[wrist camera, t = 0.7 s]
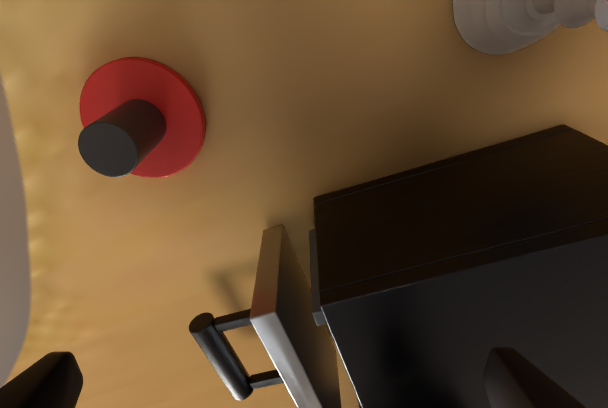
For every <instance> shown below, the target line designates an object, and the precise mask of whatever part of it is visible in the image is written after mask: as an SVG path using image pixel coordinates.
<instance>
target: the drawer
mask: <svg viewBox="0 0 608 408" xmlns="http://www.w3.org/2000/svg"><path fill="white" fill-rule="evenodd" d="M309 239H310V240H309V241H310V271H311V291H310V288H309V286H308V284H307V281H306V279H305V276H304V274H303V272H302V269H301V267H300V264H299V262H298V260H297V257H296V255H295V253H294V250H293V248H292V245H291V243H290V241H289V238H288V236H287V234H286V231H285V229H284V226H283V225H280V226H276V227H273V228H269V229H266V230H264V231H263V237H262V243H261V249H260V255H259V262H258V268H257V274H256V281H255V287H254V293H253V300H252V306H251V309H248V310H244V311H240V312H236V313H232V314H228V315H224V316H220V317H216V318H214V317H213V315H212V314H211V313H202V314H200V315H198V316H196V317H195V318H194V319H193V320H192V321H191V323H190V325H189V331H190V333H191V334H192V336H193V337H194V339H195V340H196V342H197V343H198V345H199V346H200V348H201V349H202V351H203V352H204V354H205V355H206V357H207V358H208V360H209V361H210V363H211V364H212V366H213V367H214V369H215V370H216V372H217V373H218V375H219V376H220V378H221V379H222V381H223V382H224V384H225V385H226V387H227V388H228V390H229V391H230V393H231V394H232V396H233V397H234V398H235V399H236V400H244V399H246V398H247V397H249V396H250V395H251V393H252V392H253V389H257V388H262V387H266V386H271V385H275V384H280V383H285V385H286V387H287V389H288V391H289V393H290V394H291V396H292V398H293V400H294V402H295V403H296V405H297V407H298V408H341V399H340V389H339V379H338V368H337V358H336V350H335V348H334V345H333V343H332V341H331V338H330V336H329V334H328V331H327V329H326V326H325V324H327V322H326V319H325V317H324V315H323V312H322V310H321V307H320V297H319V281H318V265H317V248H316V232H315V229H314V230H310V231H309ZM251 324H252V325H253V327H254V329H255V330H256V332H257V334H258V336H259V338H260V340H261V341H262V343H263V345H264V347H265V349H266V351H267V352H268V354H269V356H270V358H271V360H272V361H273V363H274V365H275V367H276V369H277V370H272V371H268V372H263V373H259V374H255V375H251V376H249V374H248V372H247V371H246V369H245V368H244V366H243V364H242V363H241V361H240V359H239V358H238V356H237V354H236V353H235V351H234V349H233V348H232V346H231V344H230V343H229V341H228V340H227V338H226V336H225V335H224V333H223V331H227V330H231V329H235V328H239V327H243V326H247V325H251ZM358 401H359V399H358ZM359 408H362V406H361V404H360V401H359Z"/></svg>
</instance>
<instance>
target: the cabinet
mask: <svg viewBox="0 0 608 408" xmlns="http://www.w3.org/2000/svg"><path fill="white" fill-rule="evenodd" d="M314 215H315V232H316V248H317V265H318V281H319V297H320V307H321V310H322V312H323V315H324V317H325V319H326V322H327V324H328V327H329V329H330V331H331V334H332V336H333V339H334V341H335V343H336V346H337V348H338V351H339V353H340V356H341V358H342V360H343V363H344V365H345V368H346V370H347V372H348V375H349V377H350V380H351V382H352V384H353V387H354V389H355V392H356V394H357V397H358V399H359V401H360V404H361V406H362V408H491V406H490V402H489V399H488V396H487V392H486V389H485V386H484V381H483V372H484V368H485V365H486V362H487V359H488V356H489V352H490V350H491V349H492V348H495V347H510V348H513V349H515V350H516V351H517V352H519V353H520V354H521V355H522V356H524V357H525V358H526V359H527V360H529V361H530V362H531V363H532V364H533V365H535V366H536V367H537V368H538V369H540V370H541V371H542V372H543V373H544V374H546V375H547V376H548V377H549V378H551V379H552V380H553V381H554V382H556V383H557V384H558V385H559V386H560V387H562V388H563V389H564V390H565V391H567V392H568V393H569V394H570V395H571V396H573V397H574V398H575V399H576V400H578V401H579V402H580V403H581V404H582V405H584V406H585V407H586V408H608V145H606V144H604V143H602V142H600V141H598V140H596V139H594V138H592V137H590V136H588V135H586V134H583V133H581V132H579V131H577V130H575V129H573V128H571V127H569V126H567V125H561V126H557V127H554V128H551V129H547V130H544V131H540V132H537V133H534V134H530V135H527V136H523V137H520V138H516V139H513V140H510V141H506V142H503V143H499V144H496V145H493V146H489V147H486V148H482V149H479V150H475V151H472V152H469V153H465V154H462V155H458V156H455V157H452V158H448V159H445V160H441V161H438V162H434V163H431V164H428V165H424V166H421V167H417V168H414V169H411V170H407V171H404V172H400V173H397V174H393V175H390V176H387V177H383V178H380V179H376V180H373V181H370V182H366V183H363V184H359V185H356V186H352V187H349V188H346V189H342V190H339V191H335V192H332V193H329V194H325V195H322V196H318V197H315V198H314Z"/></svg>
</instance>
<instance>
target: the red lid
mask: <svg viewBox="0 0 608 408" xmlns="http://www.w3.org/2000/svg"><path fill="white" fill-rule="evenodd" d="M80 116H81V121H82V124H83V128H84V129H83V130H82V131H81V133H80V136H79V140H78V146H79V151H80V154H81V156H82V158H83V159H84V161H85V162H86V163H87V164H88V165H89V166H90V167H91V168H92V169H93V170H95V171H96V172H98V173H100V174H102V175H105V176H109V177H121V176H125V175H127V174H129V173H131V174H134V175H137V176H142V177H149V178H157V177H165V176H169V175H172V174H175V173H178V172H179V171H181V170H183V169H184V168H186V167H187V166H188V165H189V164H190V163H191V162H192V161H193V160H194V159H195V157H196V156H197V154H198V153H199V151H200V149H201V147H202V145H203V141H204V138H205V128H206V124H205V116H204V112H203V108H202V106H201V103H200V101H199V99H198V97H197V95H196V93H195V92H194V91H193V89H192V88H191V86H190V85H189V84H188V83H187V82H186V81H185V80H184V79H183V78H182V77H181V76H180V75H179V74H178V73H176V72H175V71H173V70H172V69H170V68H169V67H167V66H165V65H163V64H161V63H158V62H156V61H153V60H149V59H145V58H138V57H129V58H121V59H118V60H114V61H112V62H109V63H107V64H105V65H103V66H101V67H100V68H98V69H97V70H96V71H95V72H94V73H93V74H92V75H91V76H90V77H89V78H88V80H87V81H86V83H85V85H84V87H83V90H82V93H81V98H80Z"/></svg>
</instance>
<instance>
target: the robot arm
mask: <svg viewBox="0 0 608 408" xmlns="http://www.w3.org/2000/svg"><path fill="white" fill-rule="evenodd" d="M483 381H484V386H485V389H486V392H487V396H488V399H489V402H490V406H491V408H586V407H585V406H584V405H582V404H581V403H580V402H579V401H578V400H576V399H575V398H574V397H573V396H571V395H570V394H569V393H568V392H567V391H565V390H564V389H563V388H562V387H560V386H559V385H558V384H557V383H556V382H554V381H553V380H552V379H551V378H549V377H548V376H547V375H546V374H544V373H543V372H542V371H541V370H540V369H538V368H537V367H536V366H535V365H533V364H532V363H531V362H530V361H529V360H527V359H526V358H525V357H524V356H522V355H521V354H520V353H519V352H517V351H516V350H515V349H513V348H510V347H495V348H492V349H491V350H490V352H489V356H488V359H487V362H486V365H485V368H484V372H483ZM82 385H83V376H82V373H81V371H80V369H79V366H78V364H77V362H76V359H75V357H74V355H73V354H72V353H71V352H51V353H49V354H47V355H45V356H44V357H43V358H41V359H40V360H38V361H37V362H36V363H34V364H33V365H32V366H30V367H29V368H28V369H26V370H25V371H23V372H22V373H21V374H19V375H18V376H17V377H15V378H14V379H13V380H11V381H10V382H8V383H7V384H6V385H4V386H3V387H2V388H0V408H75V406H76V403H77V400H78V398H79V395H80V392H81V389H82Z"/></svg>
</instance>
